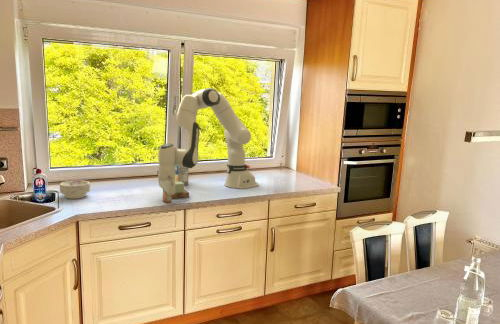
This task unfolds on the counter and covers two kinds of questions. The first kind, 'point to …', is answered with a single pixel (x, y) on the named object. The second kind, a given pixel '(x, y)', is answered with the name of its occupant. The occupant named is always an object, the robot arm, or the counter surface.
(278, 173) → the counter surface
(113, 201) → the counter surface
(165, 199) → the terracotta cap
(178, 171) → the beverage box
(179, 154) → the robot arm
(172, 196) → the walnut plinth
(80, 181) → the paper bowls
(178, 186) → the green block
